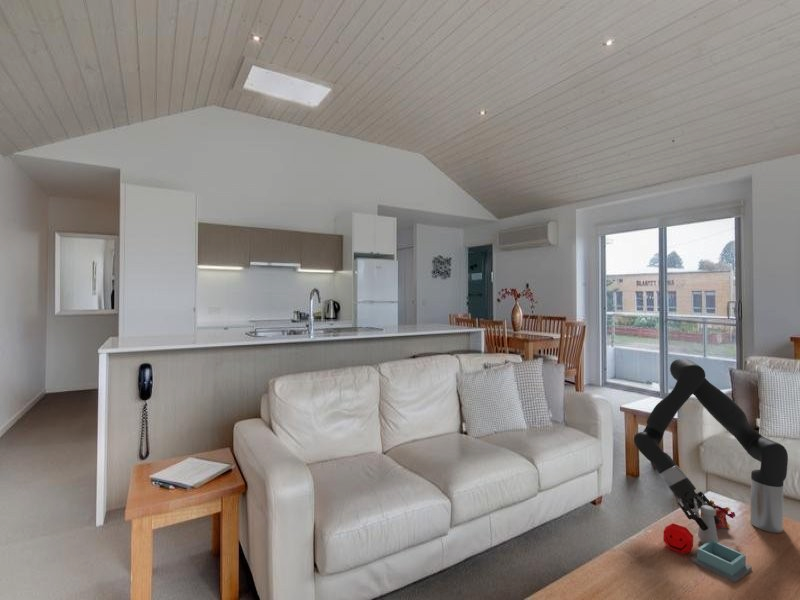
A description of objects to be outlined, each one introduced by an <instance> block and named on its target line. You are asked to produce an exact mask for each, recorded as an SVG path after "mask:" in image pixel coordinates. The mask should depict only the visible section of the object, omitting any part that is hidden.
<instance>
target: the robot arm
mask: <svg viewBox="0 0 800 600" xmlns="http://www.w3.org/2000/svg"><path fill="white" fill-rule="evenodd" d="M669 371H670V374H671V376H672V377H673V379H675V380H676V383H675V385H674V387H673V389H672V390H671V391H670V392H669V394H667V396H665V397H664V398H663V399H661V400H660V401H659V402H658V403H657V404H656V405H655V406H654V408H653V409H652V411H651V412H650V414H649V415H648V417H647V420H646V426H645V428H644V430H643V431H641V432H638V433H636V434H635V435H634V436H633V443H634V445H635V447H636V449H638V451H639V452H640V453H641V454H642V455H643V456H644V457H645V458H646V460H648V461H649V462H650V463H651V464H652V466H653V467H654V468H655V470H656V471H657V473H658V474H659V475H660V477H661V479H662V480H663V482H664V483H665V484H666V486H667V487H668V488H669V489H670V491H671V492H672V494H674V496H675V497H676V498H677V499H681V500H680V501H677V505H678V506H679V508H680V509H681V510H682V512H683V513H684V515H685V516H686V517H687V519H688V520H693V521H695V523H696V524H697V525H698V526H699V527H700V528H701V529H702V530H703V531H705V530H707V529H709V528H708V526H707V525H706V523H705V522H704V521H703V520H702V518H701V514H700V513H699V511H701V506H703V505H707V503H708V504H709V505H707V506H711V507H713V508H714V506H713V505H712V504H711V502H710V500H709V498H707V496H706V495H705V493H703V492H702V491H699V492H696V489H697V488H696V487H695V485H694V484H693V482H692V481H691V480H690V479H689V477H688V476H687V475H686V474H685V472H684V471H683V470H682V468H680V467H679V466H678V464H677V463H676V462H675V461H674V459H673V458H672V457H671V456H670V455H669V453H667V452H665V451H663V450H662V449H661V448H660V447H659V446H660V444H661V442H662V439H663V437H664V434H665V433H666V432H665V431H666V430H667V428H668V427H669V425H670V424H671V422H672V421H673V419H674V418H675V416H676V414H677V413H678V411H679V410H680V409H682V408H681V407H683V405H684V404H685V403H686V402H687V401H688V400H689V399H690V397H691V396H692V395H694V396H695V398H696V400H698V402H699V403H700V405H702V406H703V407H704V409H705V410H706V411H707V412H708V413H709V414H710V415H711V416H712V417H713V418H714V419H715V421H717V422H718V423H719V424H720V425H721V426H722V427H723V428H724V429H725V430H726V431H727V432H728V433H730V434H731V435H732V436H733V437H734V438H735V440H737V441H738V443H740V445H741V446H742V448H743V449H744V450H745V451H746V453H747V454H748V455H749V456H750V457H752V458H753V459H754V460H756V461H759V463H760V467H759V468H760V469H753V470H752V471H751V472H750V473H751V476H750V517H749V518H750V520H749V521H750V523H751V525H752V526H754V527H756V528H757V529H760V530H762V531H765V532H768V533H769V532H770V533H773V534H776V533H777V534H778V533H779V534H780V533H782V532H783V526H784V521H783V520H784V482H785V480H786V479H787V474H788V463H789V455H788V451H787V449H786V447H785V446H784V445H783V444H781V443H779V442H776V441H775V440H771V439H769V438H768V437H765V436H763V435H762V434H760V433H759V432H758V431H757V430H756V429H755V428H753V427H752V425H750V423H749V421H748V418H747V415H746V413H745V412H744V410H743V409H742V408H741V407H740V406H739V405H738V404H737V403H736V402H735V401H734V400H733V399H732V398H731V397H729V395H728V394H725V392H724V391H722V390H721V389H719V388H718V387H716V386H715V385H714V384H712V383H711V382H710V381H709V380H708V379H707V378H706V371H705V370H704V368H703V367H702V366H700V365H699V364H697V363H695V362H694V361H691V360H690V359H687V358H677V359H674V360H673V361H672V362H671V363H670V366H669ZM714 521H715V524H717V523H719V522H720V520H719V519H718V517H717V516H716V515H715V516H714ZM699 527H698V528H699Z"/></svg>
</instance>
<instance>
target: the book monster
mask: <svg viewBox="0 0 800 600" xmlns="http://www.w3.org/2000/svg"><path fill="white" fill-rule="evenodd" d="M709 501H710V502H711V504H712V505H713V506H714V509H715V511H716V514H715V515H716V516H717V517H718V519H719V520H720V522H719V523H717V524H715V526H716V530H717V529H721V528H726V529H730V528H731V526H730V524H729V523H728V521H727V517H729V518H731V519H734V518H735V516H736V514H735V512H734V511H731V508H730V507H729V506H726V507H721V506H719V505H716V503H715V501H714V500H712V499H710V500H709ZM706 503H707V502H706ZM707 505H709V504H708V503H707ZM729 512H730V513H729ZM702 514H703V513H702V512H701V511H700V518H702Z"/></svg>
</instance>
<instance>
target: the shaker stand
mask: <svg viewBox="0 0 800 600" xmlns="http://www.w3.org/2000/svg"><path fill="white" fill-rule="evenodd" d="M696 551H697V553H696V554H695V555H694V556H692V557H691V562H692V563H694V564H696V565H698V566H700V567H702V568H704V569H706V570H708V571H710V572H712V573H715V574H716V575H718V576H720V577H722V578H724V579H727V580H728V581H730V582H732V583H737V582H738V581H739V580H740V579H742V578H743V577H745V576H746V575H747V574H748V573H750V572H751V571H752V568H753V566H751V565H748V564H747V562H746V560H747V556H746V554H744V553H742V552H739V551H737V550H735V549H733V548H731V547H728V546H726V545H723V544H722V543H719V542H715V541H713V540H710V541H709V542H707V543H705V544H702V545H700V546H699V547H697V550H696Z"/></svg>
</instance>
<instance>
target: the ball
mask: <svg viewBox="0 0 800 600" xmlns="http://www.w3.org/2000/svg"><path fill="white" fill-rule="evenodd" d="M662 538H663V543H665V545H666V546H667V548H669V550H670V549H671V550H670V551H673V552H676V553H679V554H681V555H684V554H687V553H691V551H692V550H693V547H694V535H693V534H692V533H691V531H689V529H688V528H687V527H686V526H684V525H683V526H682V525H680V524H676V523H670V524H669V525H667V526H665V528H664V530H663V537H662Z"/></svg>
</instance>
